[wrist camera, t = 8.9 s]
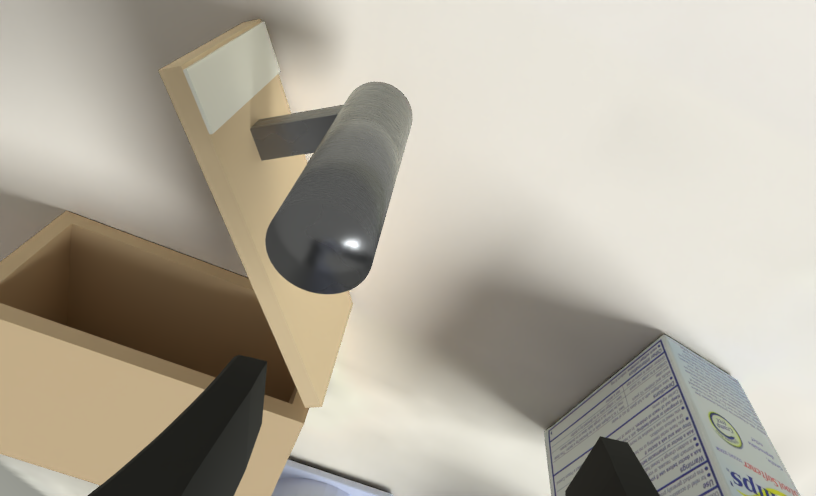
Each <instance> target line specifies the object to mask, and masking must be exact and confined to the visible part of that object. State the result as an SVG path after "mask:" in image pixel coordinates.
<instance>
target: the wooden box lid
mask: <svg viewBox="0 0 816 496" xmlns="http://www.w3.org/2000/svg"><path fill="white" fill-rule="evenodd" d="M158 71H159V73H160V76H161V78H162V80H163V83H164V85H165V87H166V90H167V92H168V94H169V96H170V99H171V101H172V103H173V106H174V108H175V110H176V112H177V115H178V117H179V119H180V122H181V124H182V126H183V129H184V131H185V133H186V135H187V138H188V140H189V142H190V145H191V147H192V149H193V151H194V154H195V156H196V158H197V161H198V163H199V165H200V168H201V170H202V172H203V174H204V177H205V179H206V181H207V184H208V186H209V188H210V190H211V193H212V195H213V197H214V200H215V202H216V204H217V207H218V209H219V211H220V213H221V216H222V218H223V220H224V223H225V225H226V227H227V229H228V232H229V234H230V236H231V239H232V241H233V243H234V246H235V248H236V250H237V252H238V255H239V257H240V259H241V262H242V264H243V266H244V268H245V271H246V273H247V275H248V278H249V280H250V282H251V285H252V287H253V289H254V291H255V294H256V296H257V298H258V301H259V303H260V305H261V307H262V310H263V312H264V314H265V317H266V319H267V321H268V324H269V326H270V328H271V330H272V333H273V335H274V337H275V340H276V342H277V344H278V346H279V349H280V351H281V353H282V356H283V358H284V360H285V363H286V365H287V367H288V369H289V372H290V374H291V376H292V379H293V381H294V383H295V385H296V388H297V390H298V392H299V395H300V397H301V399H302V402H303V404H304V406H305V408H311V407H322V404H323V401H324V398H325V394H326V391H327V388H328V384H329V381H330V378H331V374H332V371H333V368H334V365H335V361H336V358H337V355H338V351H339V348H340V345H341V341H342V338H343V335H344V331H345V328H346V325H347V321H348V318H349V315H350V312H351V308H352V305H353V303H352V300H351V297H350V294H349V291H348V290H351V289H353V288H354V287H356V286H358V285H359V284H360V283H361V282H362V281H363V280H364V279H365V278H366V276H367V275H368V273H369V271H370V269H371V266H372V263H373V259H374V256H375V252H376V248H377V245H378V241H379V238H380V234H381V231H382V227H383V224H384V220H385V217H386V213H387V210H388V206H389V202H390V199H391V195H392V192H393V188H394V185H395V181H396V178H397V174H398V171H399V167H400V164H401V160H402V156H403V153H404V149H405V146H406V142H407V139H408V135H409V132H410V128H411V125H412V110H411V106H410V104H409V102H408V100H407V98H406V97H405V96H404V94H403V93H402V92H401V91H400V90H398V89H397V88H395V87H394V86H392V85H390V84H387V83H383V82H370V83H366V84H363V85H361V86H359V87H358V88H356V89H355V90H354V91H353V92H352V93H351V95H350V96H349V97H348V99H347V101H346V102H345V104H344V105H340V106H334V107H328V108H322V109H316V110H311V111H305V112H299V113H293V114H291V112H290V108H289V105H288V102H287V99H286V96H285V93H284V90H283V87H282V84H281V81H280V78H279V73H280V72H281V71H280V68H279V65H278V62H277V59H276V56H275V53H274V50H273V47H272V43H271V40H270V37H269V34H268V31H267V28H266V25H265V22H261V19H257V20H252V21H248V22H243V23H241V24H239V25H238V26H236V27H234V28H232V29H231V30H229V31H227V32H225V33H223V34H222V35H220V36H218V37H216V38H215V39H213V40H211V41H209V42H207V43H206V44H204V45H202V46H200V47H199V48H197V49H195V50H193V51H191V52H190V53H188V54H186V55H184V56H183V57H181V58H179V59H177V60H175V61H174V62H172V63H170V64H168V65H167V66H165V67H163V68H161V69H159V70H158ZM308 153H314V154H313V155H312V157H311V158H310V160H309V162H308V163H307V161H306V158H305V155H304V154H308Z"/></svg>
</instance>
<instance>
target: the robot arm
mask: <svg viewBox="0 0 816 496" xmlns="http://www.w3.org/2000/svg"><path fill="white" fill-rule="evenodd" d="M266 371H267V361H264V360H260V359H256V358H251V357H247V356H242V355H237V356H235V357H233V358H232V360H231V361H230V362H229V363H228V364H227V366H226V367H225V368H224V369H223V370H222V371H221V372H220V374H219V375H218V376H217V377H216V378H215V379H214V380H213V381H212V382H211V384H210V385H209V386H208V387H207V388H206V389H205V390H204V391H203V392H202V393H201V394H200V395H199V396H198V397H197V398H196V399H195V400H194V401H193V402H192V403H191V404H190V405H189V406H188V407H187V408H186V409H185V410H184V411H183V412H182V413H181V414H180V415H179V416H178V417H177V418H176V419H175V420H174V421H173V422H172V423H171V424H170V425H169V426H168V427H167V428H166V429H165V430H164V431H163V432H162V433H161V434H159V435H158V436H157V437H156V438H155V439H154V440H153V441H152V442H151V443H149V444H148V445H147V446H146V447H145V448H144V449H143V450H142V451H140V452H139V453H138V454H137V455H136V456H135V457H134V458H132V459H131V460H130V461H129V462H128V463H127V464H126V465H124V466H123V467H122V468H121V469H120V470H119V471H117V472H116V473H115V474H114V475H113V476H111V477H110V478H109V479H108V480H107V481H105V482H104V483H103V484H102V485H100V486H99V487H98V488H97V489H95V490H94V491H93V492H92V493H90V494H89V495H88V496H234V494H235V492H236V490H237V488H238V486H239V484H240V481H241V479H242V477H243V475H244V473H245V471H246V468H247V465H248V462H249V459H250V457H251V454H252V451H253V448H254V445H255V442H256V439H257V436H258V434H259V431H260V428H261V425H262V417H263V406H264V394H265V382H266ZM271 496H393V495H392V494H390V493H387V492H384V491H381V490H378V489H375V488H372V487H369V486H366V485H363V484H360V483H357V482H354V481H351V480H348V479H345V478H342V477H339V476H336V475H333V474H330V473H327V472H324V471H321V470H318V469H315V468H312V467H309V466H306V465H303V464H300V463H297V462H294V461H291V460H287V462H286V464H285V467H284V469H283V471H282V473H281V475H280V478H279V480H278V482H277V484H276V486H275V489H274V491H273V493H272V495H271ZM565 496H660V495H659V493H658V492H657V490H656V488H655V487H654V485H653V483H652V482H651V480H650V478H649V477H648V475H647V473H646V472H645V470H644V468H643V467H642V465H641V463H640V461H639V460H638V458H637V457H636V455H635V453H634V452H633V450H632V448H631V447H630V445H629V443H628V442H623V441H619V440H615V439H610V438H606V437H601V436H600V437H599V439H598V440H597V442H596V444H595V445H594V447H593V448H592V450H591V451H590V453H589V455H588V456H587V458H586V459H585V461H584V462H583V464H582V466H581V467H580V469H579V470H578V472H577V473H576V475H575V477H574V478H573V480H572V481H571V483H570V484H569V486H568V488H567V489H566V491H565Z"/></svg>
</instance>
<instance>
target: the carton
mask: <svg viewBox="0 0 816 496" xmlns="http://www.w3.org/2000/svg"><path fill="white" fill-rule="evenodd" d="M237 355H242V356H247V357H251V358H256V359H260V360H264V361H267V371H266V382H265V394H264V406H263V417H262V425H261V428H260V431H259V434H258V436H257V439H256V442H255V445H254V448H253V451H252V454H251V457H250V459H249V462H248V465H247V468H246V471H245V473H244V475H243V477H242V479H241V481H240V484H239V486H238V488H237V490H236V492H235V494H234V496H271V495H272V493H273V491H274V489H275V486H276V484H277V482H278V480H279V478H280V475H281V473H282V471H283V469H284V467H285V464H286V462H287V460H288V458H289V456H290V453H291V451H292V449H293V447H294V444H295V442H296V440H297V438H298V436H299V433H300V431H301V429H302V427H303V425H304V422H305V419H306V416H307V413H308V410H309V408H305V406H304V404H303V402H302V399H301V397H300V395H299V392H298V390H297V388H296V385H295V383H294V381H293V379H292V376H291V374H290V372H289V369H288V367H287V365H286V363H285V360H284V358H283V356H282V353H281V351H280V349H279V346H278V344H277V342H276V340H275V337H274V335H273V333H272V330H271V328H270V326H269V324H268V321H267V319H266V317H265V314H264V312H263V310H262V307H261V305H260V303H259V301H258V298H257V296H256V294H255V291H254V289H253V287H252V285H251V282H250V280H249V278H246V277H243V276H241V275H238V274H235V273H233V272H230V271H227V270H225V269H222V268H219V267H216V266H214V265H211V264H208V263H206V262H203V261H200V260H198V259H195V258H192V257H190V256H187V255H184V254H181V253H179V252H176V251H173V250H171V249H168V248H165V247H163V246H160V245H157V244H155V243H152V242H149V241H147V240H144V239H141V238H138V237H136V236H133V235H130V234H128V233H125V232H122V231H120V230H117V229H114V228H112V227H109V226H106V225H103V224H101V223H98V222H95V221H93V220H90V219H87V218H85V217H82V216H79V215H77V214H74V213H71V212H68V211H65V212H64V213H63V214H61V215H60V216H59V217H57V218H56V219H55V220H54V221H52V222H51V223H50V224H48V225H47V226H46V227H45V228H43V229H42V230H41V231H39V232H38V233H37V234H36V235H34V236H33V237H32V238H30V239H29V240H28V241H27V242H25V243H24V244H23V245H21V246H20V247H19V248H18V249H16V250H15V251H14V252H12V253H11V254H10V255H9V256H7V257H6V258H5V259H3V260H2V261H1V262H0V454H3V455H6V456H9V457H12V458H15V459H18V460H22V461H25V462H28V463H31V464H34V465H38V466H41V467H44V468H47V469H50V470H53V471H57V472H60V473H63V474H66V475H69V476H72V477H76V478H79V479H82V480H85V481H88V482H92V483H95V484H98V485H102V484H103V483H104V482H105V481H107V480H108V479H109V478H110V477H111V476H113V475H114V474H115V473H116V472H117V471H119V470H120V469H121V468H122V467H123V466H124V465H126V464H127V463H128V462H129V461H130V460H131V459H132V458H134V457H135V456H136V455H137V454H138V453H139V452H140V451H142V450H143V449H144V448H145V447H146V446H147V445H148V444H149V443H151V442H152V441H153V440H154V439H155V438H156V437H157V436H158V435H159V434H161V433H162V432H163V431H164V430H165V429H166V428H167V427H168V426H169V425H170V424H171V423H172V422H173V421H174V420H175V419H176V418H177V417H178V416H179V415H180V414H181V413H182V412H183V411H184V410H185V409H186V408H187V407H188V406H189V405H190V404H191V403H192V402H193V401H194V400H195V399H196V398H197V397H198V396H199V395H200V394H201V393H202V392H203V391H204V390H205V389H206V388H207V387H208V386H209V385H210V384H211V382H212V381H213V380H214V379H215V378H216V377H217V376H218V375H219V374H220V372H221V371H222V370H223V369H224V368H225V367H226V366H227V364H228V363H229V362H230V361H231V360H232V358H233V357H235V356H237Z"/></svg>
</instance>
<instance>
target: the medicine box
mask: <svg viewBox="0 0 816 496" xmlns="http://www.w3.org/2000/svg"><path fill="white" fill-rule="evenodd" d="M600 436H601V437H606V438H610V439H615V440H619V441H623V442H628V443H629V445H630V447H631V448H632V450H633V452H634V453H635V455H636V457H637V458H638V460H639V461H640V463H641V465H642V467H643V468H644V470H645V472H646V473H647V475H648V477H649V478H650V480H651V482H652V483H653V485H654V487H655V488H656V490H657V492H658V493H659V495H660V496H800V494H799V492H798V491H797V489H796V487H795V485H794V483H793V481H792V480H791V478H790V476H789V474H788V472H787V470H786V468H785V467H784V465H783V463H782V461H781V459H780V457H779V455H778V454H777V452H776V450H775V448H774V446H773V444H772V443H771V441H770V439H769V437H768V435H767V433H766V431H765V429H764V427H763V426H762V424H761V422H760V420H759V418H758V416H757V414H756V413H755V411H754V409H753V407H752V405H751V403H750V401H749V400H748V398H747V396H746V394H745V392H744V390H743V388H742V387H741V385H740V383H739V382H738V381H737V380H736V379H735V378H733V377H732V376H730V375H729V374H727V373H725V372H724V371H722V370H721V369H719V368H718V367H716V366H715V365H713V364H712V363H710V362H709V361H707V360H705V359H704V358H702V357H700V356H698V355H697V354H695V353H694V352H692V351H690V350H689V349H687V348H686V347H684V346H683V345H681V344H680V343H678V342H676V341H675V340H673V339H672V338H670V337H668V336H667V335H662V336H661V337H660V338H658V339H657V340H656V341H655V342H654V343H652V344H651V345H650V346H649V347H648V348H646V349H645V350H644V351H643V352H642V353H640V354H639V355H638V356H637V357H636V358H634V359H633V360H632V361H631V362H629V363H628V364H627V365H626V366H624V367H623V368H622V369H621V370H620V371H618V372H617V373H616V374H615V375H614V376H612V377H611V378H610V379H609V380H607V381H606V382H605V383H604V384H603V385H601V386H600V387H599V388H598V389H596V390H595V391H594V392H593V393H592V394H590V395H589V396H588V397H587V398H586V399H584V400H583V401H582V402H581V403H580V404H578V405H577V406H576V407H575V408H573V409H572V410H571V411H570V412H569V413H567V414H566V415H565V416H564V417H562V418H561V419H560V420H559V421H558V422H556V423H555V424H554V425H553V426H552V427H550V428H548V429H547V430H546V431H545V432H544V437H545V446H546V454H547V463H548V471H549V479H550V489H551V496H565V491H566V489H567V488H568V486H569V484H570V483H571V481H572V480H573V478H574V477H575V475H576V473H577V472H578V470H579V469H580V467H581V466H582V464H583V462H584V461H585V459H586V458H587V456H588V455H589V453H590V451H591V450H592V448H593V447H594V445H595V444H596V442H597V440H598V439H599V437H600Z"/></svg>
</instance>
